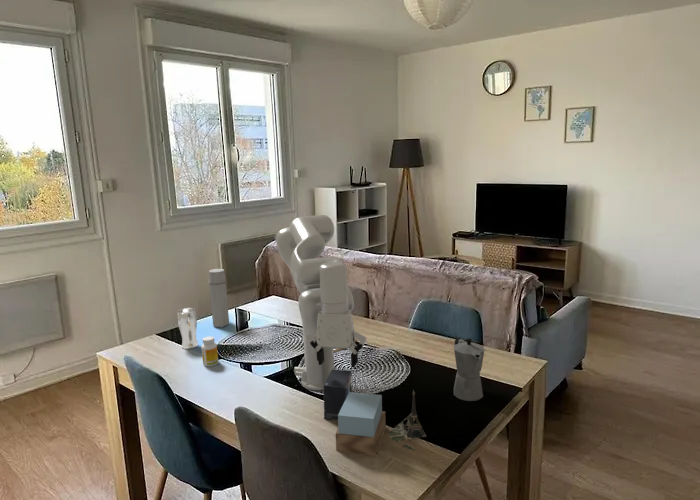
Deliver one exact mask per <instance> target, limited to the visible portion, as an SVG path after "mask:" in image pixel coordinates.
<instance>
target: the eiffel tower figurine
mask: <svg viewBox="0 0 700 500" xmlns="http://www.w3.org/2000/svg"><path fill="white" fill-rule="evenodd" d="M415 396H416V392H415V391H414V390H412V403H411V405H412V406H411V412H410V414H408V415H407V416H406V417H405V418H404V419H403V420H402V421H400V422H399V423H398V424H397V425H396V426H394V428H392V429H391V430H390V431H389V432H388V435H389V437H390V439H391V441H393V442H396V443H397V442H399V443H401V442H402V441H403V440H404V439H405V438H406V439H407V440H411V439H418V438H419V439H420V438H426V437H427V434H426V432H425V431H424V429H423V426H422V425H421V423H420V421H419V419H418V414H417V410H416V409H417V407H416V397H415ZM406 420H407V422H406V424H404V421H406ZM401 447H402V448H406V449H409V450H410V451H417V449H416V448H415V447H411V445H410V446H409V444H408V443H405V444H403V445H402V446H401Z"/></svg>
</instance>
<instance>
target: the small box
mask: <svg viewBox="0 0 700 500" xmlns="http://www.w3.org/2000/svg"><path fill="white" fill-rule="evenodd" d="M352 380H353V379H352V371H351V370H341V369H334V370H333V369H332V370H331V372H330V374H329V376H328V378H327V379H326V381H325V383H324V385H323V390H322V391H323V416H324V417H323V419H325V420H335V421H338V414H339V412H340V410H341V408H342V406H343V404H344V402H345V400H346V398H347V396H348V393H349V392H353V384H352Z"/></svg>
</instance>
